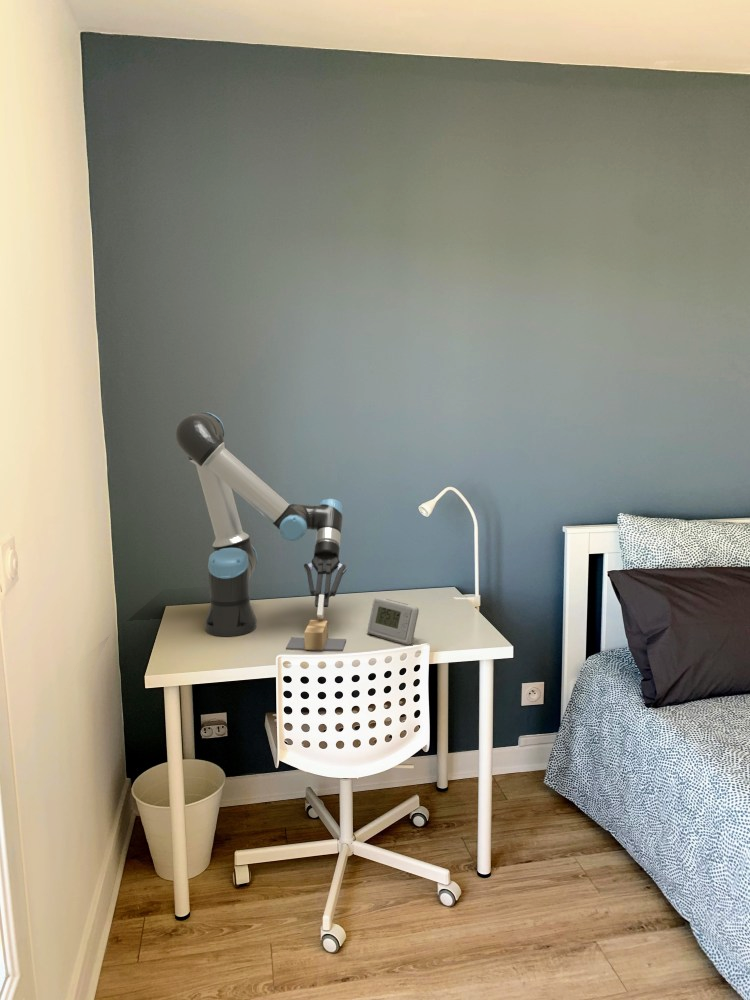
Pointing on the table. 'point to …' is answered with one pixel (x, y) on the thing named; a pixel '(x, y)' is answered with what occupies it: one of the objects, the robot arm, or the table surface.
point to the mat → (330, 645)
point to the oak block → (316, 634)
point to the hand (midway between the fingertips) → (320, 616)
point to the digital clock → (393, 620)
